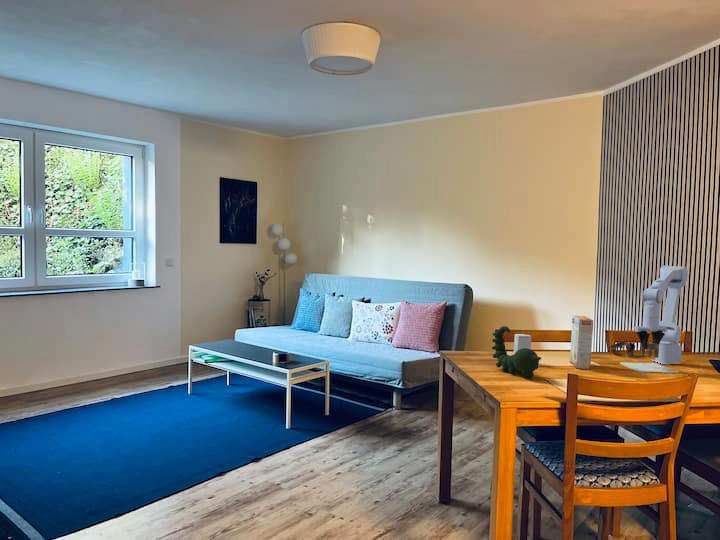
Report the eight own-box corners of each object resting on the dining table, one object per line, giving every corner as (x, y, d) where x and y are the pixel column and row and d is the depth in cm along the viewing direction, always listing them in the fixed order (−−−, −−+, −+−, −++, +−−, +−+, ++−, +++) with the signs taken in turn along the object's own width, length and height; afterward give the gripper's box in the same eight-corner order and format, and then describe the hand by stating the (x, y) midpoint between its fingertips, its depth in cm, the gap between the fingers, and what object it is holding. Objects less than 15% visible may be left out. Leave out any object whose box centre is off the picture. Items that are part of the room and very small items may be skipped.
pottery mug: (626, 359, 244) (617, 343, 247) (612, 364, 253) (604, 348, 255) (644, 351, 249) (635, 335, 251) (629, 356, 257) (621, 341, 260)
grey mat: (655, 364, 232) (655, 363, 232) (678, 373, 216) (679, 371, 216) (620, 363, 231) (620, 362, 231) (641, 372, 216) (641, 371, 215)
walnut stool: (649, 355, 226) (650, 342, 226) (658, 357, 222) (659, 344, 222) (640, 355, 225) (641, 342, 225) (648, 357, 221) (649, 344, 221)
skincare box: (517, 363, 224) (518, 335, 224) (512, 361, 229) (513, 333, 228) (530, 363, 225) (532, 335, 225) (525, 361, 230) (527, 333, 229)
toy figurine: (487, 372, 214) (531, 381, 191) (486, 325, 215) (530, 329, 192) (505, 370, 218) (550, 379, 195) (504, 324, 219) (549, 328, 196)
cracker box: (591, 370, 217) (594, 319, 216) (575, 369, 218) (578, 319, 217) (583, 363, 231) (586, 315, 230) (569, 361, 232) (571, 314, 231)
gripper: (659, 315, 228) (657, 346, 229) (630, 315, 225) (628, 346, 226) (671, 317, 221) (669, 349, 222) (641, 317, 218) (640, 350, 219)
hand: (649, 348), depth 224 cm, fingers closed on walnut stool, 5 cm apart
